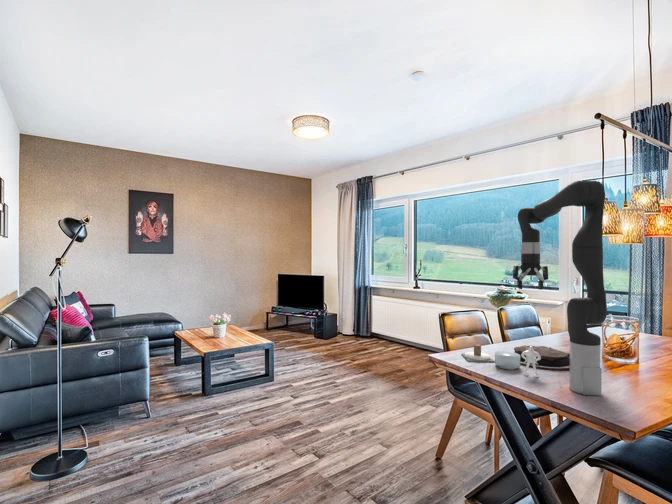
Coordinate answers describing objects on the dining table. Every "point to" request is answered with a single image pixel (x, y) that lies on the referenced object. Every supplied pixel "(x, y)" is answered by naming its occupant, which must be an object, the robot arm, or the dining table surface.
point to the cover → (477, 354)
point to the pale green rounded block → (507, 360)
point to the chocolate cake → (546, 357)
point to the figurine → (531, 360)
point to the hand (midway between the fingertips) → (530, 289)
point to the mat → (476, 360)
